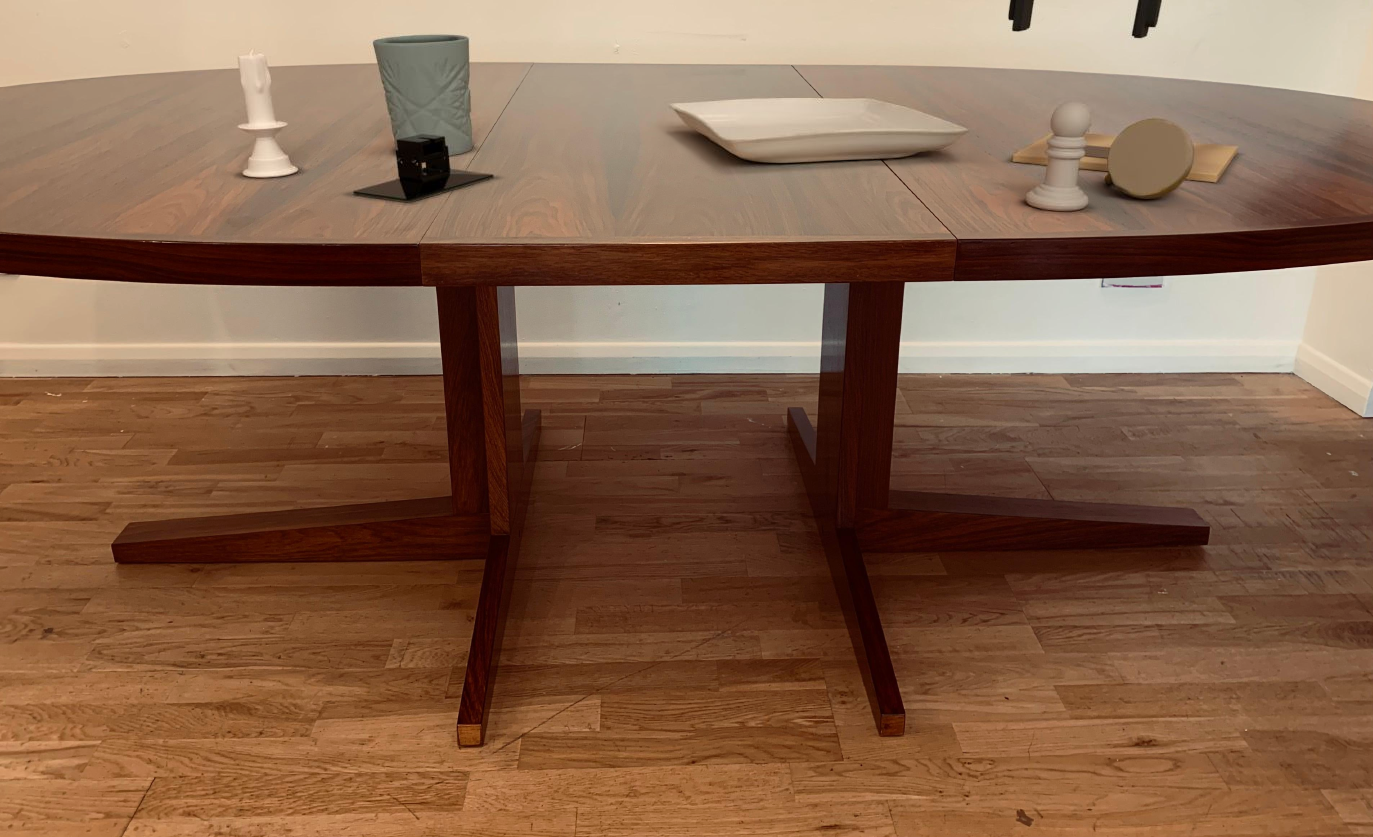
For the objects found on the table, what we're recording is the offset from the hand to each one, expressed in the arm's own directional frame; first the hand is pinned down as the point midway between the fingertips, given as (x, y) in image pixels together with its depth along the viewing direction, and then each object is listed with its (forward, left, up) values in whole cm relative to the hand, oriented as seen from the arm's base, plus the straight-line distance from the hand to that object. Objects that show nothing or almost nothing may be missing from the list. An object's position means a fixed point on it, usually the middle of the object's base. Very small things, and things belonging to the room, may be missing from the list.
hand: (1078, 33), depth 85 cm
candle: (+72, +28, -15) cm, 78 cm away
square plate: (+32, -15, -15) cm, 38 cm away
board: (-1, -27, -15) cm, 31 cm away
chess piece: (0, 0, -15) cm, 15 cm away
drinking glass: (+67, +10, -15) cm, 69 cm away
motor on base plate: (+54, +24, -15) cm, 61 cm away
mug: (-6, -10, -15) cm, 19 cm away
